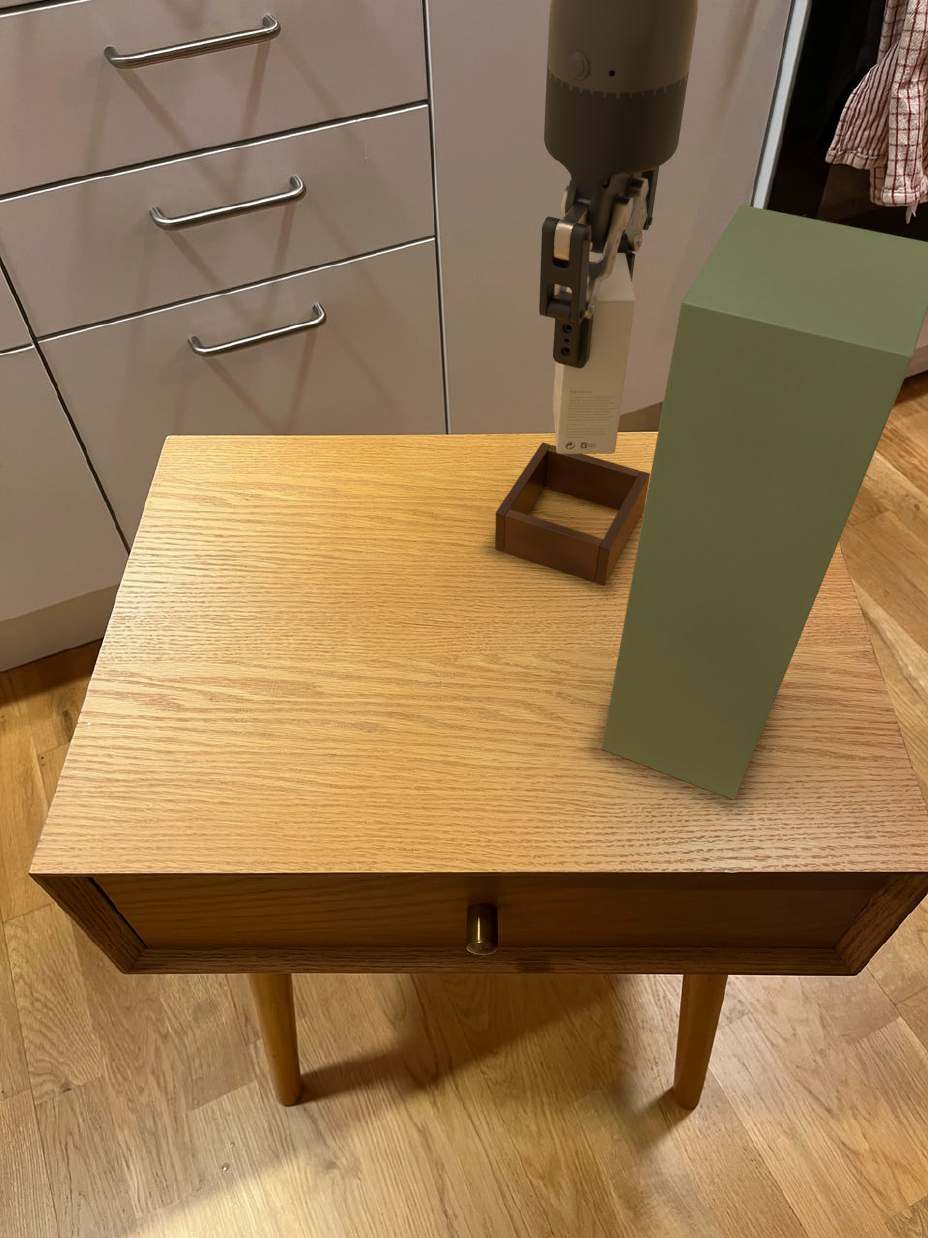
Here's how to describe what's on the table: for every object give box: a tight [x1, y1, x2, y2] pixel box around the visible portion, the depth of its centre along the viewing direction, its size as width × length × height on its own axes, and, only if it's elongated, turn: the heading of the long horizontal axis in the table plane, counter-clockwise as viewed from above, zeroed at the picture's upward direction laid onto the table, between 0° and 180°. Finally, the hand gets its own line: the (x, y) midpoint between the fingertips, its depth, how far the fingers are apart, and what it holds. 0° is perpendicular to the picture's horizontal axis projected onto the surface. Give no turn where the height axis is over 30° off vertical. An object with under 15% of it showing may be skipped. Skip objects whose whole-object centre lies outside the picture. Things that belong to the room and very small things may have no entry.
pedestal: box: [601, 204, 928, 800], centre depth 52 cm, size 9×9×33 cm
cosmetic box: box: [552, 252, 636, 455], centre depth 65 cm, size 6×4×12 cm
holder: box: [494, 441, 651, 586], centre depth 76 cm, size 9×9×4 cm
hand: (592, 331), depth 63 cm, fingers closed on cosmetic box, 7 cm apart
